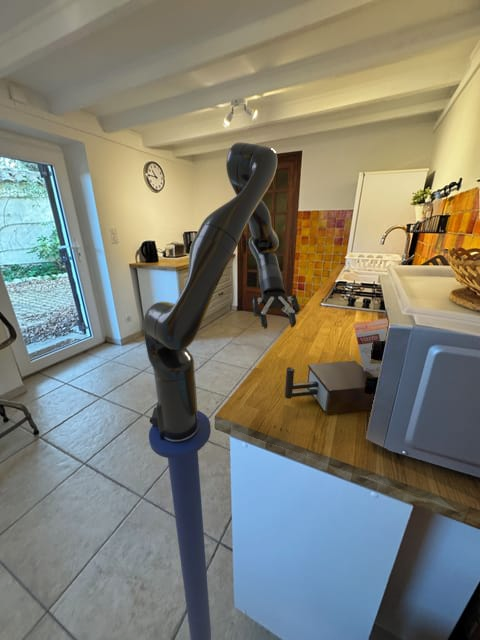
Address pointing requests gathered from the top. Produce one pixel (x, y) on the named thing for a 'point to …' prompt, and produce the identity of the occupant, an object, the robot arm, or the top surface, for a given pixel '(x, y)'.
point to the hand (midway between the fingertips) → (279, 326)
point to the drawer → (313, 386)
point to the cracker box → (370, 342)
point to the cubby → (343, 386)
